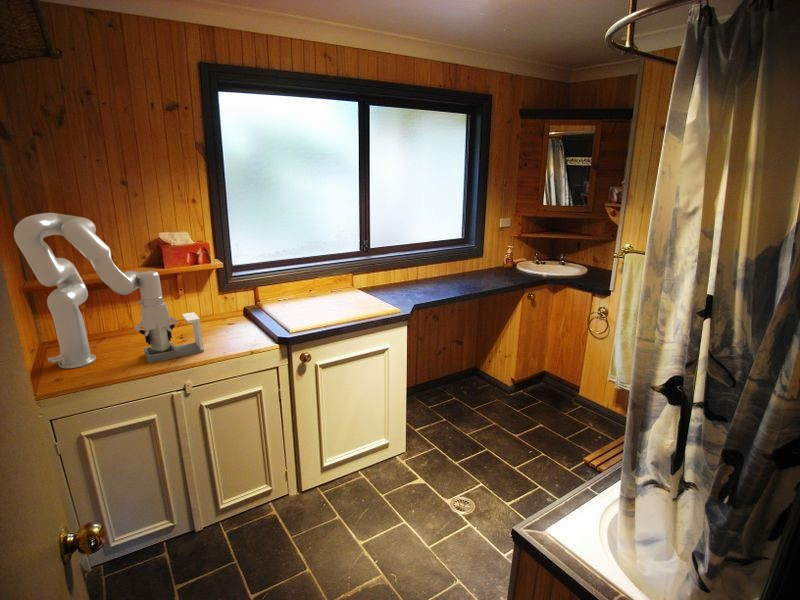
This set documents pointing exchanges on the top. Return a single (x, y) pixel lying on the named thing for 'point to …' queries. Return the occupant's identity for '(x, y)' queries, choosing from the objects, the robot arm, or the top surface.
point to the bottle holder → (183, 349)
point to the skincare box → (159, 338)
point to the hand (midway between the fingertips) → (159, 341)
